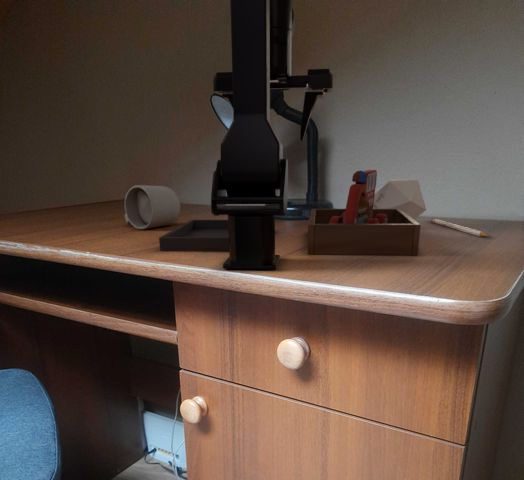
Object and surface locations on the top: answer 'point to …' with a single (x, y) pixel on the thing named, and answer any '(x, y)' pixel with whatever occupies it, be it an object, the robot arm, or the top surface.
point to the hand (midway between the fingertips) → (274, 141)
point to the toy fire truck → (361, 201)
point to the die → (401, 197)
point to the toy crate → (363, 234)
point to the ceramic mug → (151, 206)
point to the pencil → (459, 227)
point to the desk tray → (197, 236)
